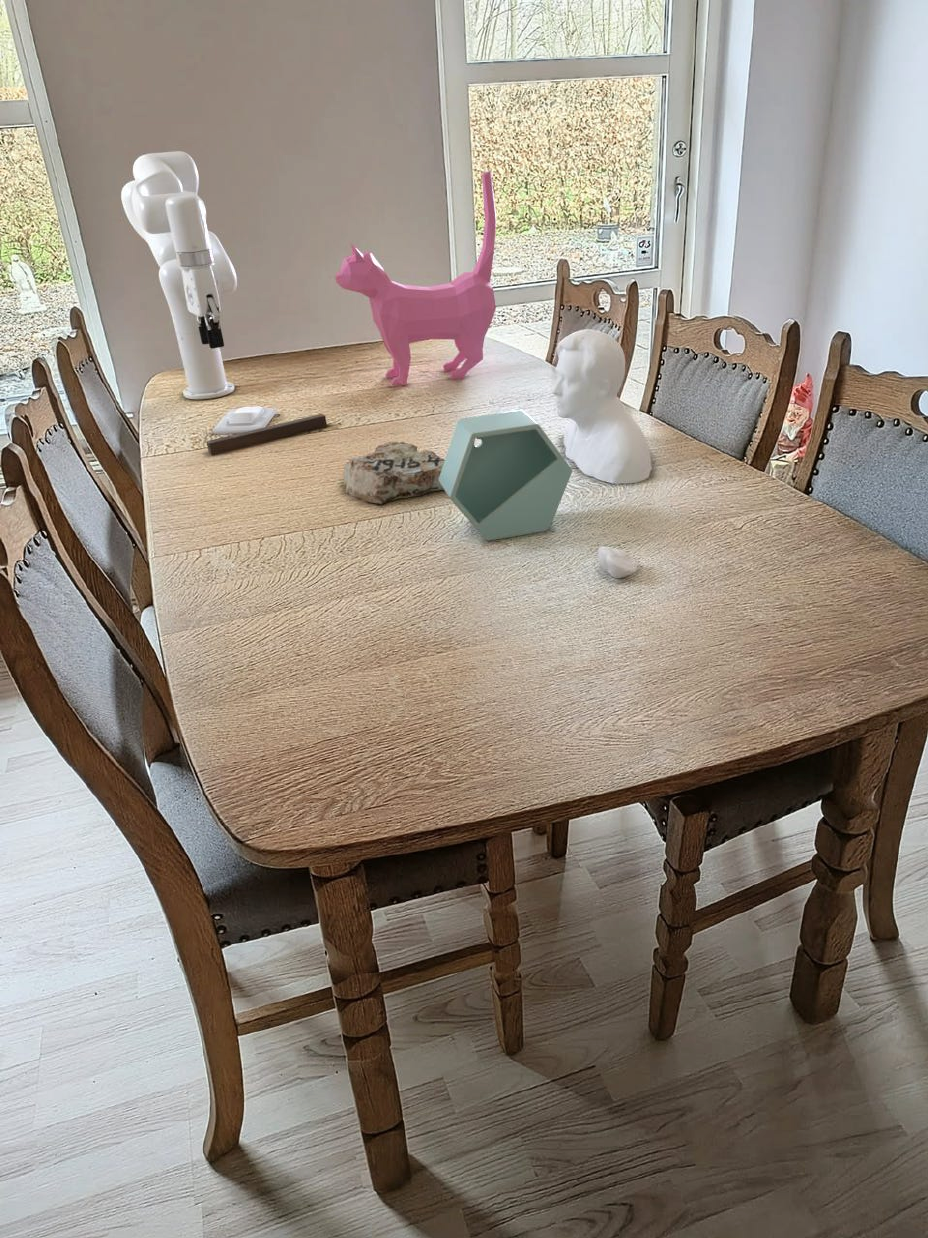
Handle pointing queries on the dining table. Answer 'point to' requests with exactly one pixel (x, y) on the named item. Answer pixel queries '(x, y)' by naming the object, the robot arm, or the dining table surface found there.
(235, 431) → the light switch
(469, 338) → the cat
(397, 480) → the stone
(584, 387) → the bust
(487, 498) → the planter
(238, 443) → the back rail
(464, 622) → the dining table surface
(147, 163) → the robot arm
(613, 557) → the dumpling
